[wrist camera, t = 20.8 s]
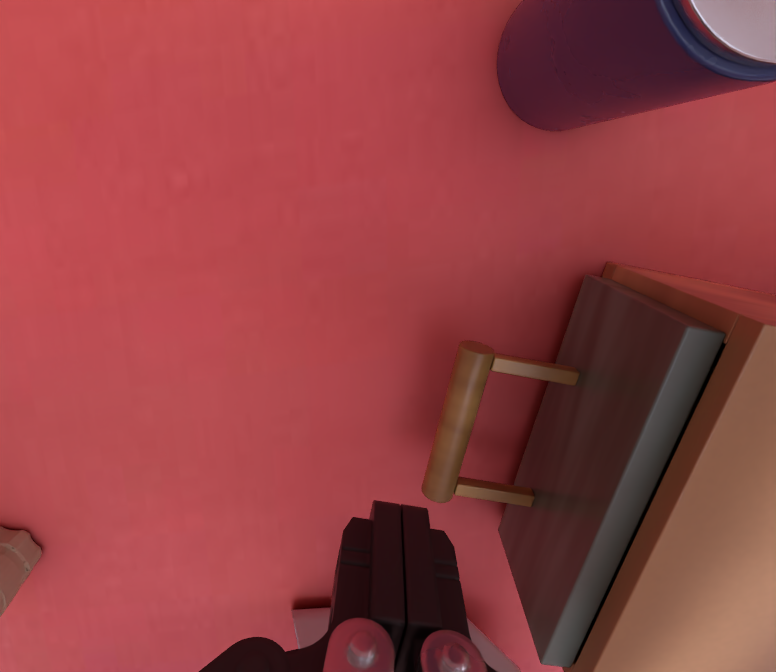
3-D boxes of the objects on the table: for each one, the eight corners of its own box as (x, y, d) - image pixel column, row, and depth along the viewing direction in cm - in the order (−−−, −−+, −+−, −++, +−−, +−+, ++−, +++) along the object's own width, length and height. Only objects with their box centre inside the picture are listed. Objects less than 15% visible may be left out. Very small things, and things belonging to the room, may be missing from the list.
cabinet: (511, 528, 25) (575, 707, 17) (606, 261, 20) (765, 324, 12) (780, 569, 26) (966, 755, 18) (932, 325, 21) (1288, 425, 13)
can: (517, -36, 16) (749, -395, 6) (649, -4, 17) (1085, -292, 6) (481, 116, 18) (614, 40, 8) (602, 142, 18) (886, 104, 8)
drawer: (404, 515, 23) (412, 648, 17) (471, 251, 19) (517, 293, 12) (758, 569, 25) (893, 711, 18) (899, 335, 20) (1144, 412, 14)
